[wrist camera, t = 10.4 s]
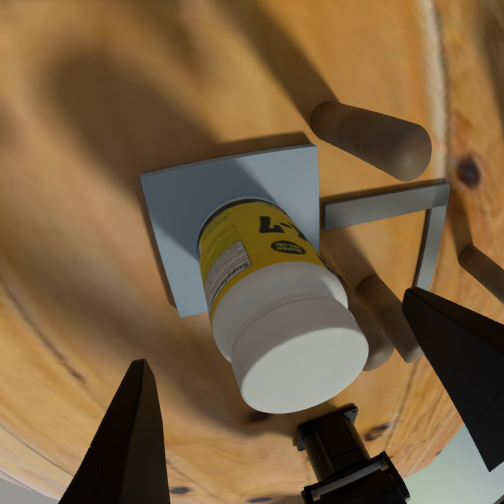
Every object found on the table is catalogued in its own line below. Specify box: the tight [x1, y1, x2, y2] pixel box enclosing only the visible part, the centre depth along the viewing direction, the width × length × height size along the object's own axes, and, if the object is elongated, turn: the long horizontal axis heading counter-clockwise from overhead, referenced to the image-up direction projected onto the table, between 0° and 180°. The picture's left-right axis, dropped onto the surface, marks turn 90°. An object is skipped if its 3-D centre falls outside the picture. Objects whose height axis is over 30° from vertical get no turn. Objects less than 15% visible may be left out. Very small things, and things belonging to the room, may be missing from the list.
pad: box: [140, 143, 319, 318], centre depth 16 cm, size 8×8×1 cm
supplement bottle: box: [196, 196, 369, 413], centre depth 12 cm, size 5×5×8 cm
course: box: [311, 102, 504, 371], centre depth 16 cm, size 14×15×6 cm
